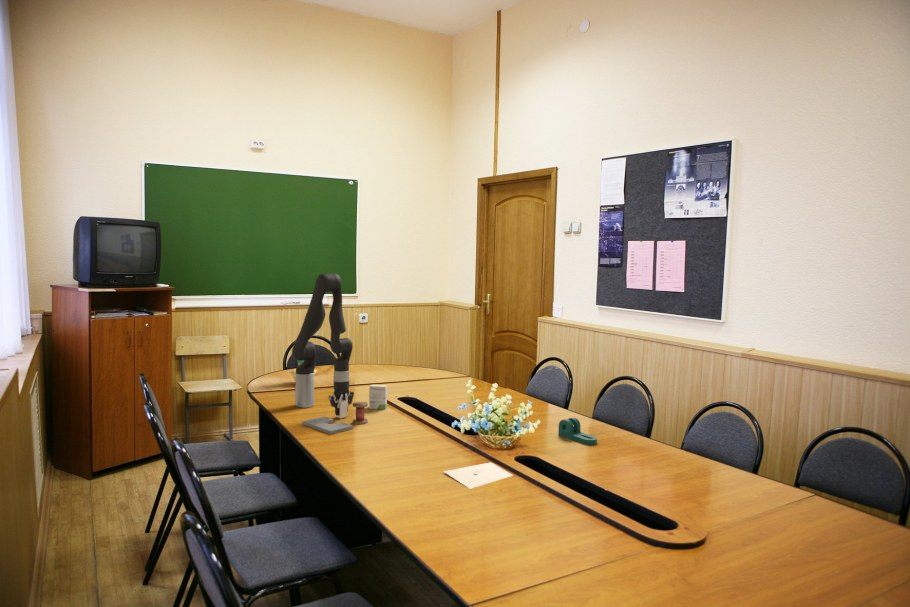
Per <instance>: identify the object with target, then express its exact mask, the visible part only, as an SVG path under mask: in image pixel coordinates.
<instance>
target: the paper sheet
mask: <svg viewBox="0 0 910 607" xmlns="http://www.w3.org/2000/svg"><path fill="white" fill-rule="evenodd" d="M443 472H444V474H446V475H448V476H449V477H451V478H453V480H456V481H458V483H460V484H462V485H463V486H465V487H466V488H468V489H470V490H471V489H474V488H477V487H481V486H484V485H486V484H487V485H488V484H490V483H494V482H497V481H501V480H503V479H506V478H510V477H512V476H514V475H513V474H512V473H510V472H508V471H507V470H505V469H504V468H501V467H500V466H499V465H496V464H495V463H493V462H487V463H485V462H484V463H481V464H475V465H470V466H465V467H460V468H455V469H450V470H443Z"/></svg>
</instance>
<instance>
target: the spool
mask: <svg viewBox="0 0 910 607" xmlns="http://www.w3.org/2000/svg"><path fill="white" fill-rule="evenodd" d="M352 407H353V408H355V418H354V419H352V424H353V425H365V424H368V422H369V421H368V418H365V408H367V407H369V403H368V402H367V401H356V402H355V401H354V402H352Z"/></svg>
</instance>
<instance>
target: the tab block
mask: <svg viewBox="0 0 910 607" xmlns="http://www.w3.org/2000/svg"><path fill="white" fill-rule="evenodd" d="M339 408H340V415H339V416H337V415H336V414H335V417H336V418H339V419H344V418H348V412H347V401H345V400H342V401H341V402H340V406H339Z"/></svg>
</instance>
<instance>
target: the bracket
mask: <svg viewBox="0 0 910 607" xmlns="http://www.w3.org/2000/svg"><path fill="white" fill-rule="evenodd" d="M557 433H558V436H560V437H563V438H566V439H569V440H572V441H575V442H577V443H580V444H583V445H588V446H591V445H592V446H593V445H597V443H598V438H597V436H595V435H592V434H591V435H590V434H588V433H585V432H582V431H581V423H580V420H579V419H578V418H576V417H569V418H565V419H561V420H560V421H559V423H558V432H557Z"/></svg>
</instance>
